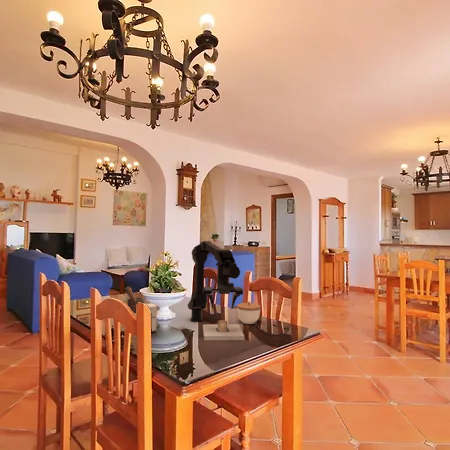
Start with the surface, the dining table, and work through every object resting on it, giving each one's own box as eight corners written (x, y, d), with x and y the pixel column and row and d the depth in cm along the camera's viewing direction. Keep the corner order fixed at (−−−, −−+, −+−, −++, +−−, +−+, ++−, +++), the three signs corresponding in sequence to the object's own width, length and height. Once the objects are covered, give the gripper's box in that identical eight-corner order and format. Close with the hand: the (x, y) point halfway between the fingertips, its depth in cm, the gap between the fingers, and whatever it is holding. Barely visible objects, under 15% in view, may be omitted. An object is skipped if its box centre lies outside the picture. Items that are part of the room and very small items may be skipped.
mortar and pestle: (138, 328, 161) (139, 287, 161) (121, 327, 161) (122, 287, 162) (145, 321, 172) (147, 284, 173) (130, 321, 173) (131, 283, 173)
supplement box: (140, 334, 151) (141, 307, 151) (137, 330, 157) (138, 304, 157) (156, 332, 154) (157, 306, 154) (152, 328, 160) (153, 302, 161)
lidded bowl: (248, 327, 167) (249, 305, 167) (232, 321, 176) (232, 301, 176) (265, 323, 175) (265, 302, 175) (248, 318, 184) (248, 298, 185)
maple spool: (217, 332, 156) (217, 320, 156) (226, 332, 157) (226, 320, 157) (218, 335, 152) (218, 322, 152) (227, 335, 152) (227, 322, 152)
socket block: (202, 328, 162) (203, 324, 162) (238, 328, 164) (238, 324, 164) (204, 340, 144) (204, 335, 144) (244, 340, 146) (244, 335, 146)
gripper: (204, 278, 146) (203, 312, 146) (245, 278, 148) (244, 312, 148) (203, 274, 157) (202, 307, 157) (241, 275, 159) (240, 307, 159)
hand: (222, 308), depth 155 cm, fingers open, 9 cm apart
